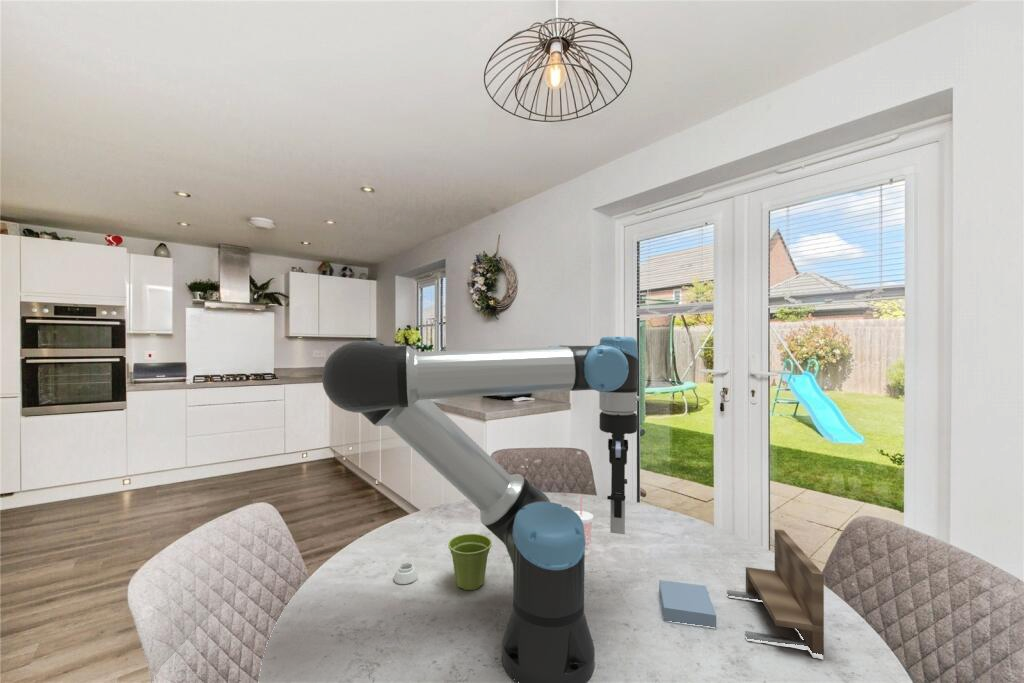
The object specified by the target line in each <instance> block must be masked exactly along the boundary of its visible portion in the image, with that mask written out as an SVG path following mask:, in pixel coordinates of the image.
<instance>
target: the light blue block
mask: <svg viewBox="0 0 1024 683" xmlns="http://www.w3.org/2000/svg"><path fill="white" fill-rule="evenodd" d="M658 583H659V584H658V594H659V593H660V594H659V599H661V600H660V604H661V605H662V606H661V605H660V606H661V610H662V611H663V612H662V616H663V617H664V618H663V622H664V621H672V622H680V623H687V624H695V625H703V626H710V627H715V628H716V629H717V613H716V611H715V608H714V605H713V602H712V600H711V597H710V595H709V591H708V589H707V586H706V585H702V584H695V583H694V584H693V583H686V582H680V581H673V580H666V579H665V580H664V579H658Z"/></svg>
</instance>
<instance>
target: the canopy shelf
mask: <svg viewBox="0 0 1024 683" xmlns="http://www.w3.org/2000/svg"><path fill="white" fill-rule="evenodd" d="M824 576H825V575H824V573H823V572H822V571H821V570H820V568H818V567H817V565H816V564H815V563H814V562H813V561H812V560H811V559H810V558H809V557H808V555H807V554H806V553H805V552H804V551H803V550H802V549H801V548H800V547H799V545H798V544H797V543H796V541H794V540H793V538H791V537H790V536H789V534H787V532H786V531H785V530H784V529H779V528H774V570H772V569H765V568H755V567H747V566H746V567H745V591H738V590H731V589H726V595H727V594H728V596H735V597H742V598H749V599H758V600H762V601H763V603H762V604H763V605H764V607H765V608H766V610H767V612H768V614H769V615H770V617H771V619H772V621H773V623H774V624H775V626H777V627H784V628H791V629H794V628H796V629H797V630H798V631H799V633H800V634H801V636H802V637H803V639H804V640H802V639H800V638H793V637H789V636H781V635H776V634H768V633H761V632H755V631H749V630H745V631H744V632H745V633H744V635H745V636H746V637H747V639H754V640H760V641H761V640H762V641H768V642H777V643H785V644H795V645H796V644H797V645H804V646H808V647H809V648H810V650H811V651H812V653H816V654H817V653H818V654H822V655H824V656H825V647H824V646H825V644H824V643H825V639H824V638H825V632H824V631H825V621H824V620H825V614H824V613H825V612H824V611H825V608H824V607H825V604H824V603H825V602H824V601H825V597H824V596H825V595H824V594H825V593H824V592H825V591H824V589H825V588H824V587H825V585H824V584H825V580H824V579H825V577H824Z"/></svg>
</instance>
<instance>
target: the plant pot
mask: <svg viewBox="0 0 1024 683" xmlns="http://www.w3.org/2000/svg"><path fill="white" fill-rule="evenodd" d="M492 544H493V541H492V539H491V538H490V537H488V536H487V535H483V534H480V533H465V534H460V535H457V536H454V537H452V538H451V539H450V540H449V541H448V543H447V546H448V549H449V550H450V554H451V556H452V562H453V570H454V571H453V572H454V580H455V585H456V587H457V588H461V589H463V590H464V591H472V590H477V589H479V588H480V587H481V586H482V585H484V584H485V578H486V569H487V564H488V558H489V557H488V555H489V554H490V549H491V547H492Z"/></svg>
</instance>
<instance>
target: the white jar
mask: <svg viewBox="0 0 1024 683" xmlns="http://www.w3.org/2000/svg"><path fill="white" fill-rule="evenodd" d="M393 576H394V577H393V581H394V582H395V583H396V584H398V585H407V584H411V583H414V582H415V581H416V580H417V579H418V573H417V570H416V568H415V567H414V564H412V563H411V562H404V563H401V564H400V565H398V568H397V569H396V571H395V574H394V575H393Z"/></svg>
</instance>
